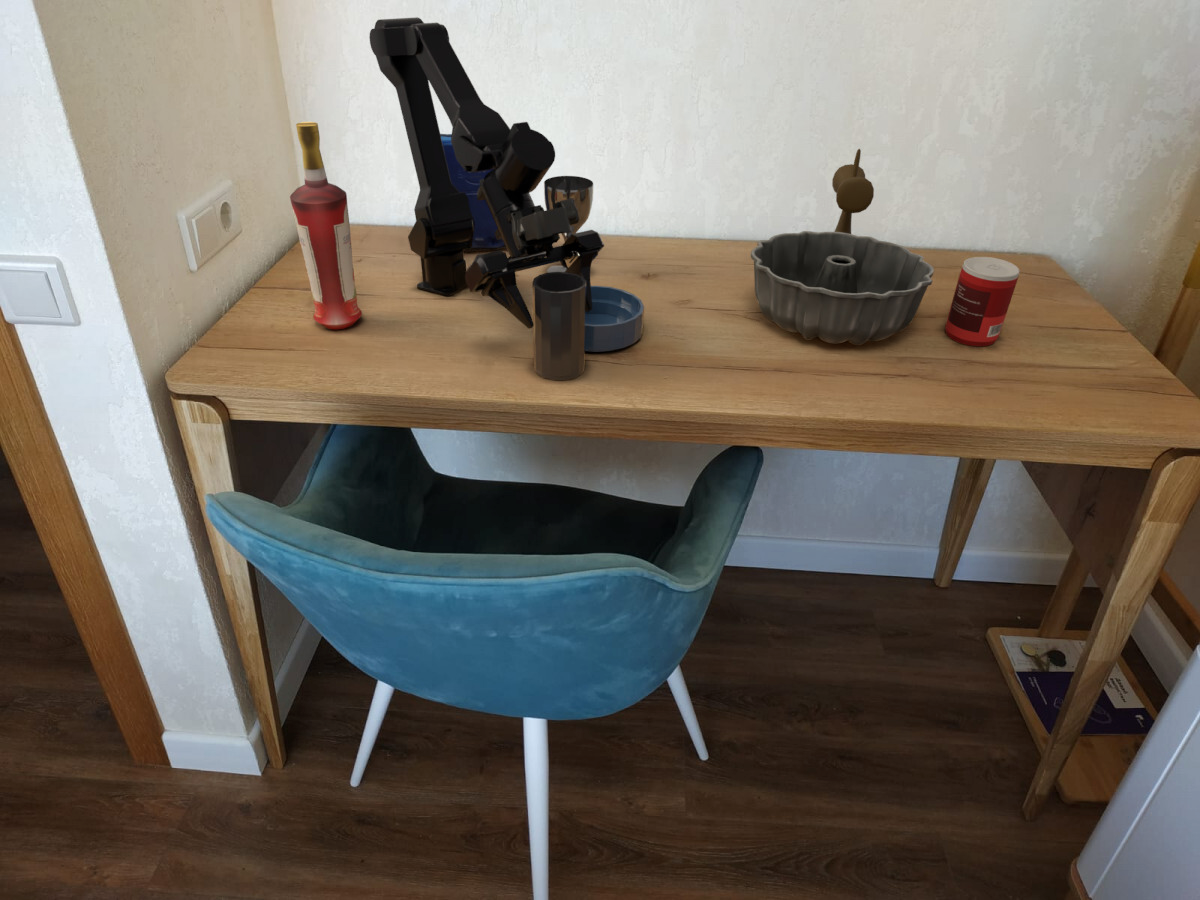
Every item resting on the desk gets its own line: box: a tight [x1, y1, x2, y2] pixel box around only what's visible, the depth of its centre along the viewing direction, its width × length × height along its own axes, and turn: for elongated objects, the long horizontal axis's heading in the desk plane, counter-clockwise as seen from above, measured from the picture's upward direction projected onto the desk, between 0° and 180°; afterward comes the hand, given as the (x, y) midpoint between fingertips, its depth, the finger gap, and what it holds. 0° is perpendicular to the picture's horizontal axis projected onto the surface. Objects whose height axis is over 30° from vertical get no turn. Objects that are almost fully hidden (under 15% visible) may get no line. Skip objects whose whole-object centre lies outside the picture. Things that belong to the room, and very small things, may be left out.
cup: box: [531, 272, 586, 381], centre depth 109 cm, size 7×7×12 cm
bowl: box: [585, 285, 645, 353], centre depth 121 cm, size 14×14×4 cm
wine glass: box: [543, 175, 594, 273], centre depth 137 cm, size 8×8×15 cm
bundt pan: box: [750, 230, 935, 346], centre depth 125 cm, size 26×26×10 cm
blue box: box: [440, 133, 506, 253], centre depth 143 cm, size 14×5×20 cm, turn 102°
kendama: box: [831, 148, 875, 234], centre depth 142 cm, size 6×10×20 cm, turn 173°
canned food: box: [945, 256, 1021, 347], centre depth 122 cm, size 8×8×11 cm
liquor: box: [289, 121, 363, 331], centre depth 115 cm, size 7×7×28 cm
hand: (561, 318), depth 108 cm, fingers open, 9 cm apart
